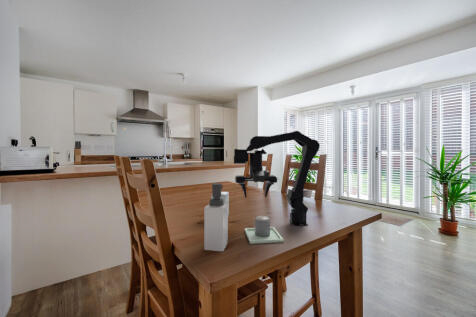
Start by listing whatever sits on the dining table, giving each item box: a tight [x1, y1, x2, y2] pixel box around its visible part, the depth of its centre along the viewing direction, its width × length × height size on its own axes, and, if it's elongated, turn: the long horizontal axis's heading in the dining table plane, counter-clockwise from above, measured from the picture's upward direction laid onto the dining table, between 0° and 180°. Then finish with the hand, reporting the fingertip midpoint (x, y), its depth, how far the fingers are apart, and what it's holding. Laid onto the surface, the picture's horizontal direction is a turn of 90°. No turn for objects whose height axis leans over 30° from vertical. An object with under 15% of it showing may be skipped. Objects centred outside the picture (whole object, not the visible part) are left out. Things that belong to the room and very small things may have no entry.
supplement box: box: [210, 191, 230, 215], centre depth 106 cm, size 7×7×13 cm
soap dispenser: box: [203, 182, 229, 252], centre depth 75 cm, size 6×9×22 cm
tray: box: [244, 226, 285, 245], centre depth 84 cm, size 13×13×1 cm
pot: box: [254, 215, 271, 237], centre depth 84 cm, size 6×6×7 cm
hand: (255, 197), depth 98 cm, fingers open, 9 cm apart
